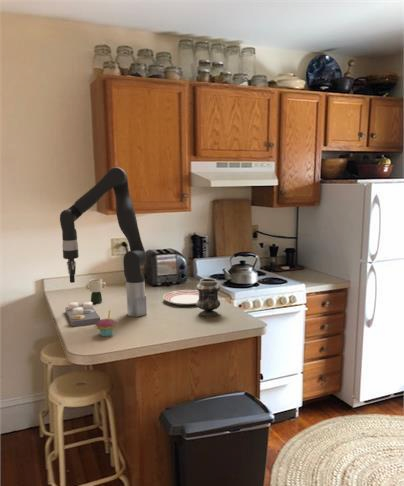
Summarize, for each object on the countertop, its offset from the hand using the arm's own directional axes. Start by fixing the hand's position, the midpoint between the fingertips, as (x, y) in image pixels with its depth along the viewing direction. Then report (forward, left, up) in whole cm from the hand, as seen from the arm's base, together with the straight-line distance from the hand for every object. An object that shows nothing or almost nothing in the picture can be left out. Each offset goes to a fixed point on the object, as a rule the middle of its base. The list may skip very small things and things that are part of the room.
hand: (72, 282), depth 216 cm
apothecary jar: (-54, -44, -17) cm, 72 cm away
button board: (-8, 0, -17) cm, 19 cm away
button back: (0, 0, -14) cm, 14 cm away
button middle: (-9, -2, -12) cm, 16 cm away
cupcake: (-39, +8, -17) cm, 43 cm away
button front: (-14, +6, -12) cm, 20 cm away
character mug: (+10, -21, -17) cm, 28 cm away
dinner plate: (-28, -56, -17) cm, 65 cm away
